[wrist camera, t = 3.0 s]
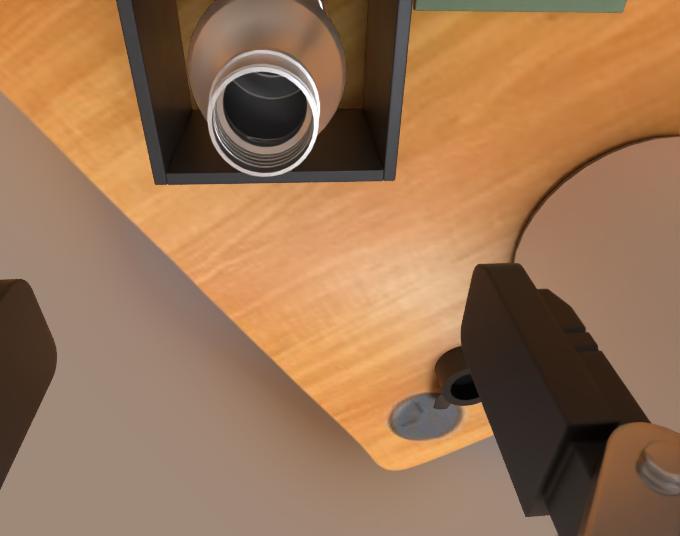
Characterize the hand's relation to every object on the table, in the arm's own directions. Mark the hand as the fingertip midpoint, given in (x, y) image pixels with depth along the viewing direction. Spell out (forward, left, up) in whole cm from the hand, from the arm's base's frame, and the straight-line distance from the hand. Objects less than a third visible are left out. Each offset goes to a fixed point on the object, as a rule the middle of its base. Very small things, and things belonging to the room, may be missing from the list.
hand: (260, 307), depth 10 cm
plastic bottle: (0, 0, -29) cm, 29 cm away
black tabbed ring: (+34, +18, -29) cm, 48 cm away
